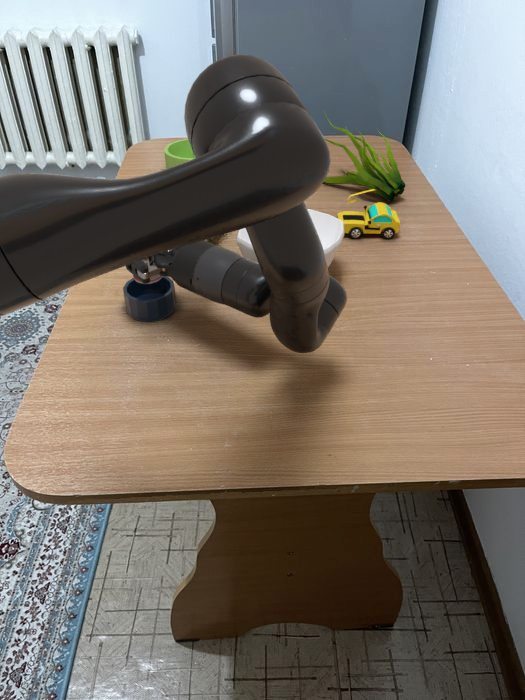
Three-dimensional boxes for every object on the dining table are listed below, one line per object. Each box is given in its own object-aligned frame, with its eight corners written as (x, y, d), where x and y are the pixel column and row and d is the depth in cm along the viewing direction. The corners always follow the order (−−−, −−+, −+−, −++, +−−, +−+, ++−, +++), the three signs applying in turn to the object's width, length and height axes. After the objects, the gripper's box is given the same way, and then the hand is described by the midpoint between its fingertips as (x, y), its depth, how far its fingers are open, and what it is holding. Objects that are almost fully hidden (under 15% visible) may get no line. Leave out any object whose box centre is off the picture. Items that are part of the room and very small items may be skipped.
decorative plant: (341, 158, 148) (346, 99, 139) (407, 202, 127) (419, 136, 117) (279, 168, 142) (280, 107, 133) (337, 216, 121) (343, 147, 112)
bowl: (352, 264, 106) (358, 218, 100) (316, 313, 93) (320, 264, 87) (267, 244, 112) (267, 199, 106) (222, 287, 99) (220, 239, 93)
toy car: (392, 223, 119) (398, 185, 113) (398, 241, 113) (405, 202, 107) (335, 223, 119) (338, 185, 113) (338, 240, 113) (342, 201, 107)
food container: (157, 181, 136) (151, 127, 128) (180, 159, 146) (175, 109, 138) (257, 193, 130) (257, 138, 122) (273, 170, 141) (274, 118, 133)
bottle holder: (120, 319, 92) (116, 299, 89) (135, 292, 98) (132, 272, 96) (169, 323, 91) (166, 302, 88) (181, 295, 97) (179, 275, 95)
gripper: (243, 229, 82) (161, 200, 90) (174, 270, 73) (89, 233, 81) (245, 274, 87) (166, 242, 95) (180, 317, 78) (99, 278, 86)
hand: (131, 238), depth 88 cm, fingers closed on pill bottle, 4 cm apart
